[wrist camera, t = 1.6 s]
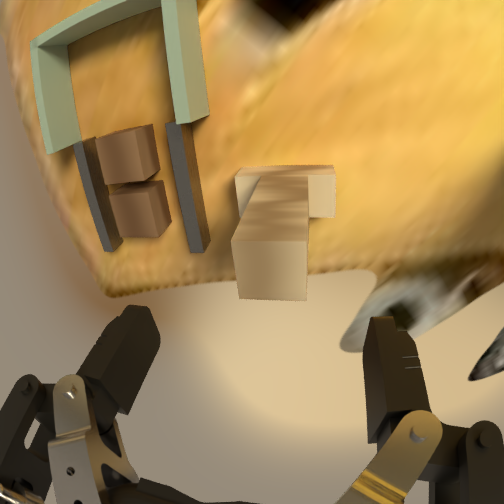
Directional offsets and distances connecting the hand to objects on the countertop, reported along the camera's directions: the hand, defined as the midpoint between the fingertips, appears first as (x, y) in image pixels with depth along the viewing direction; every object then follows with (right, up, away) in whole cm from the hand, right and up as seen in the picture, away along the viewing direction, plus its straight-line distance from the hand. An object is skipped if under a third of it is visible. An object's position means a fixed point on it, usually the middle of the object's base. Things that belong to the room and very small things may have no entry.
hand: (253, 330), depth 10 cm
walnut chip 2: (-9, +7, +16) cm, 20 cm away
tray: (-11, +18, +9) cm, 23 cm away
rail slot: (-10, +8, +15) cm, 19 cm away
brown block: (-10, +12, +13) cm, 20 cm away
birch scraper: (+3, +8, +13) cm, 15 cm away
